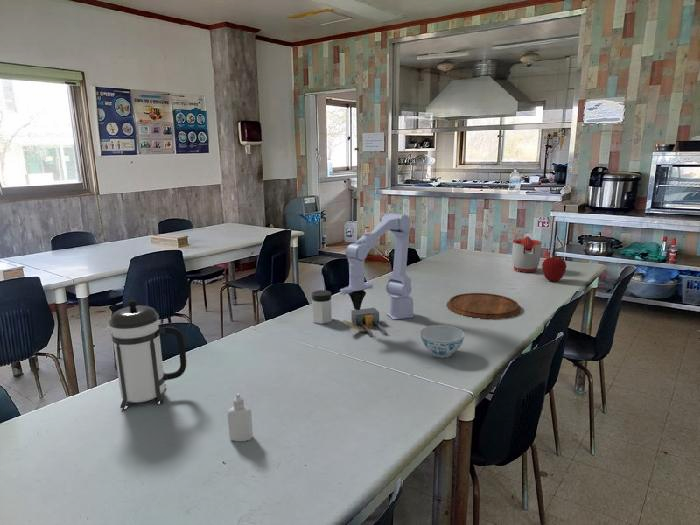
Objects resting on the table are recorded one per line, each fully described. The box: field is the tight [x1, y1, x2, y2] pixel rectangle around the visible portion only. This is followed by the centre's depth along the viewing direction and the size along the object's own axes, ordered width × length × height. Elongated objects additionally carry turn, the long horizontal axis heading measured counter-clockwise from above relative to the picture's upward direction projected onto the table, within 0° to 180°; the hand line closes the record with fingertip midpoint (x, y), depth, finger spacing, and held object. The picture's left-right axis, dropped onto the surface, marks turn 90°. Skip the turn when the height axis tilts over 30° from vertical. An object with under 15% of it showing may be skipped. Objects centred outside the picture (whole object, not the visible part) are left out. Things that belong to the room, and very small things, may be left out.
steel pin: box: [363, 314, 374, 328], centre depth 200 cm, size 3×12×5 cm, turn 17°
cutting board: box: [446, 292, 522, 320], centre depth 216 cm, size 32×32×2 cm
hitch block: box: [350, 307, 387, 338], centre depth 194 cm, size 10×18×5 cm, turn 17°
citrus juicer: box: [511, 235, 543, 273], centre depth 276 cm, size 16×17×20 cm
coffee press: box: [104, 299, 187, 410], centre depth 139 cm, size 17×16×30 cm
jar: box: [311, 289, 333, 325], centre depth 202 cm, size 9×8×12 cm
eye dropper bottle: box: [227, 393, 254, 442], centre depth 120 cm, size 4×6×12 cm
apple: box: [541, 256, 567, 282], centre depth 255 cm, size 12×12×13 cm
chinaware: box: [420, 324, 466, 358], centre depth 168 cm, size 15×15×8 cm
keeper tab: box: [342, 319, 367, 334], centre depth 189 cm, size 9×4×1 cm, turn 108°
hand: (357, 309), depth 187 cm, fingers closed
